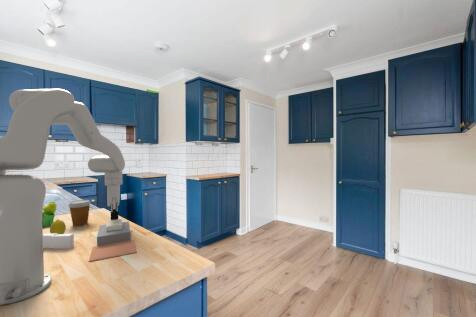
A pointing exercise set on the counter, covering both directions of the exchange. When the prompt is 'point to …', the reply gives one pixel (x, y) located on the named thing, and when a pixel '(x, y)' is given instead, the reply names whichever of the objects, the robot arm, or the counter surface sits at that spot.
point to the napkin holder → (58, 241)
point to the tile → (114, 225)
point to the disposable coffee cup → (79, 212)
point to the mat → (112, 250)
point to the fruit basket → (48, 214)
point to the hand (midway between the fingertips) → (114, 219)
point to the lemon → (58, 227)
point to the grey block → (113, 235)
